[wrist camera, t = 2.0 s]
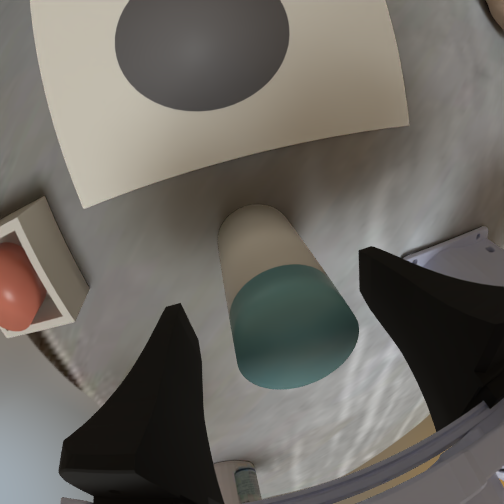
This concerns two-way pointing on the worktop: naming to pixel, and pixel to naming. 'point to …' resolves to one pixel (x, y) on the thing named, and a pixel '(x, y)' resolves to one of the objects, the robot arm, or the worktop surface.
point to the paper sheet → (208, 81)
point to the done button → (18, 288)
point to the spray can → (237, 482)
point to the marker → (281, 302)
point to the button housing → (46, 265)
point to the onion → (497, 11)
